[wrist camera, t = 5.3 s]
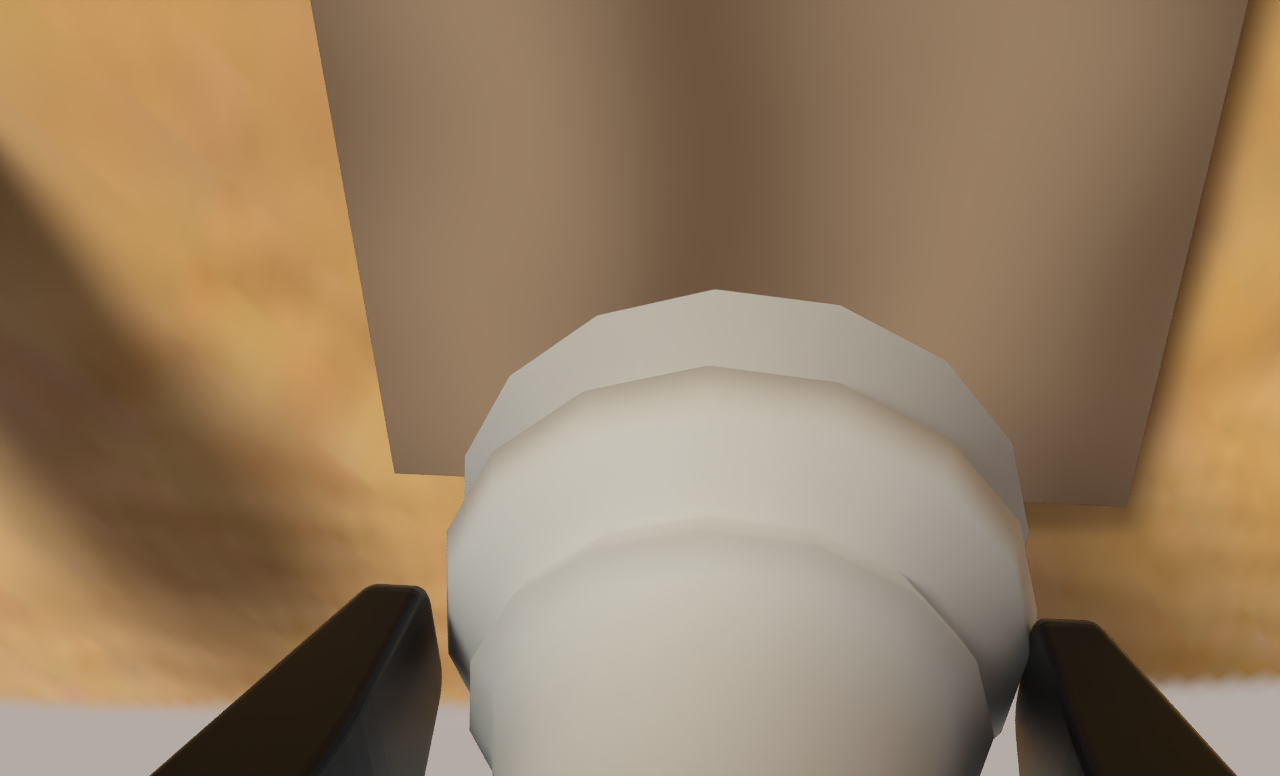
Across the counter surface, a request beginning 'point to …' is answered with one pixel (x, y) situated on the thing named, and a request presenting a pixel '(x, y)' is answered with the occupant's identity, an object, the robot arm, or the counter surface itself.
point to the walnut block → (783, 190)
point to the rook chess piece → (738, 552)
